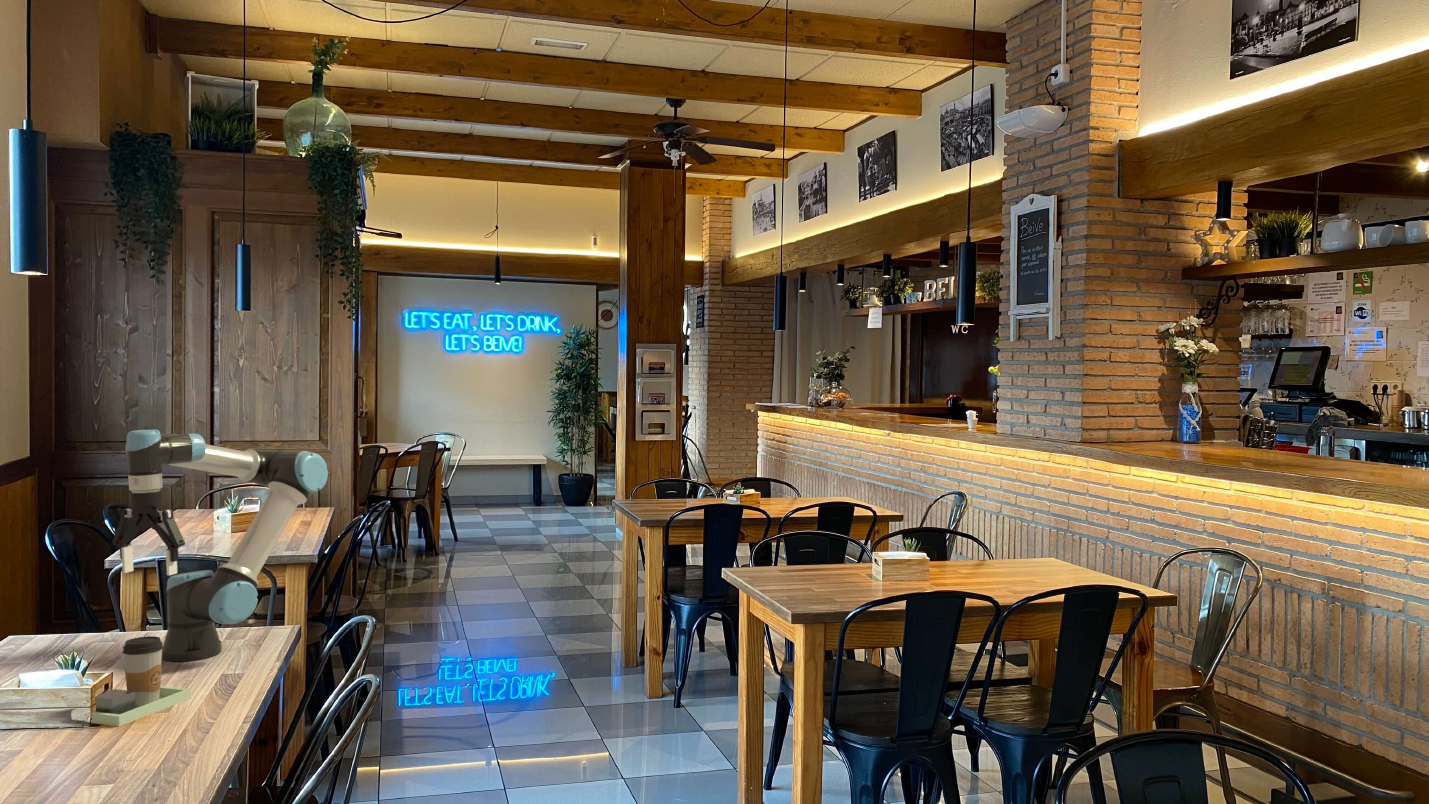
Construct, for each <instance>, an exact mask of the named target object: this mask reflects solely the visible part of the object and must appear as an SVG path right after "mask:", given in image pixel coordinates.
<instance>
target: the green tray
mask: <svg viewBox="0 0 1429 804" xmlns="http://www.w3.org/2000/svg"><path fill="white" fill-rule="evenodd" d="M188 700H191V689H190V688H183V687H174V686H173V687H172V686H165V685H164V686H163V685H160V696H159V700H157V701H154V702H151V703H149V704H146V705H143V706H141V707H135V709H133V710H130V711H128V712H125V713H122V714H120V715H118V714H110V713H102V712H92V713H91V715H92V716H91V718H92V720H91V723H90V724H94V725H95V724H97V725H105V726H111V727H112V726H113V727H119V728H120V727H122V726H124V725H127V724H129V723H132V722H135V721H137V720H139V719H143V718H145V717H147V716H150V715H152V714H155V713H158V712H160V711H162V710H165V709H168V708H171V707H173V706H175V705H178V704H180V703H183V702H185V701H188Z"/></svg>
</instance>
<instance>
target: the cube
mask: <svg viewBox="0 0 1429 804" xmlns="http://www.w3.org/2000/svg"><path fill="white" fill-rule="evenodd" d="M97 695H98V696H97V697H95V702H96V712H102V713H110V714H118V715H120V714H122V713H125V712H128V711H130V710H133V709H135V691H127V689H117V688H114V689H111V690H108V691H106V692H103V693H100V694H97Z"/></svg>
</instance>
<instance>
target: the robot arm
mask: <svg viewBox="0 0 1429 804" xmlns="http://www.w3.org/2000/svg"><path fill="white" fill-rule="evenodd" d="M125 452H126V458H127V459H126V460H127V472H128V473H127V475H128V477H127V478H128V490H129V491H130V492H129V494H128V495H129V496H128V498H129V501H128V502H129V507H130V508H124V509H121V510H120V511H121V512H120V520H119V523H118V526H117V527H116V531H115V533H114V536H113V539H112V541H111V543H112V545H113V546H118V548H119V556H120V558H119V559H120V560H121V564H122V565H121V567H122V574H127V573H131V572H134V570H135V569H134V552H133V551H134V550H133V545H132V543H131V542H132V541H134V538H135V537H136V535H137V534H138V532H140V529H141V528H148V529H149V528H151V529H152V530H154V531H155V532H156V534H157V535H158V536H159V538H160V539H161V540H162V542H163V543H164V544H165V546H166V547H167V548H166V549H165V564H166V565H165V566H166V576H169V578H168V579H167V583H166V591H165V592H166V601H167V602H166V603H167V605H166V607H167V631H166V635H165V638H164V642H163V645H162V646H163V649H162V658H161V660H164V661H168V662H188V661H189V662H190V661H197V660H203V659H207V658H211V657H214V656H217V655H219V654H220V653H222V649H223V648H222V647H223V645H222V641H221V639H220V637H219V634H218V630H217V628H216V625H215V623H217V624H219V625H221V624H222V625H228V624H229V625H235V624H239V623H242V622H243V621H245V620H247V619H248V618H249V617H250V616H251V615H253V612H254V611H255V609H256V607H257V605H258V601H259V599H258V598H257V597H258V595H259V594H258V591H257V588H258V587H259V581H258V578H257V577H258V575H259V573H260V572H261V570H262V568H263V567H264V564H265V563H266V561H267V560H268V558H269V556H270V555H271V553H272V551H273V549H274V548H275V545H276V544H277V542H278V541H279V539H280V537H281V535H282V533H283V532H284V530H285V529H286V527H287V525H288V523H289V521H290V519H291V518H292V516H293V515H294V513H295V511H296V509H297V507H298V506H299V505H303V504H306V502H307V500H308V499H309V497H310V495H311V493H317V492H319V491H321V490H322V489H324V487H325V486H326V484H327V481H328V476H329V470H328V469H327V467H328V466H327V464H326V461H325V460H324V458H323V457H322V456H321V455H320V454H318V453H316V452H311V451H306V450H304V451H294V450H293V451H292V450H256V449H251V448H249V449H246V450H244V451H243V450H238V449H233V448H228V447H222V446H217V445H211V444H209V443H207V444H206V441H205V439H204V438H203V436H202V435H200V434H198V433H182V434H177V433H176V434H173V433H172V434H171V433H169V434H168V433H167V434H166V433H161V432H160V430H158V429H138V430H137V429H136V430H132V431H129V432H128V433H127V435H126V443H125ZM168 465H169V466H173V467H178V468H179V467H180V468H186V469H191V470H197V471H202V472H209V473H214V474H221V475H226V476H232V477H236V478H237V477H238V479H239V480H240V481H242V482H246V483H252V484H254V485H255V484H256V485H259V486H263V487H266V488H268V490H269V493H268V495H267V496H266V498H265V500H264V501H263V503H262V504H261V506H260V508H259V509H258V511H257V513H256V515H255V516H254V518H253V520H252V521H251V523H250V525H249V526H248V528H247V530H246V531H245V532H244V535H243V536H242V538H241V539H240V542H239V543H238V545H237V546H236V548H235V550H234V552H233V553H232V555H231V556H230V558H229V560H228V562H227V563H225V564H222V565H220V566H218V568H217V569H216V570H215V572H214V571H213V570H210V569H207V570H206V569H205V570H196V571H190V572H185V573H179V574H178V561H179V558H180V557H179V548H181V547H183V546H185V545H186V542H185V539H184V537H183V534H182V533H181V531H180V528H179V526H178V524H177V522H176V520H175V518H174V517H175V516H174V511H173V509H172V508H171V509H165V510H163V509H162V505H163V504H164V491H163V490H162V488H163V487H164V486H163V473H162V472H163V469H162V468H163V466H168Z"/></svg>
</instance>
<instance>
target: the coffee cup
mask: <svg viewBox="0 0 1429 804" xmlns="http://www.w3.org/2000/svg"><path fill="white" fill-rule="evenodd" d="M163 646H164V645H163V641H161V637H159V636H151V635H150V636H149V635H148V636H140V637H134V638H130V639H127V640H126V641H125V642H124V645H123V647H122V649H123V650H122V654H123V657H124V658H123V659H124V673H125V674H124V675H125V685H126V690H127V691H135V707H141V706H143V705H146V704H149V703H151V702H154V701H157V700H159V696H160V686H161V683H162V682H161V679H162V649H163Z"/></svg>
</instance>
